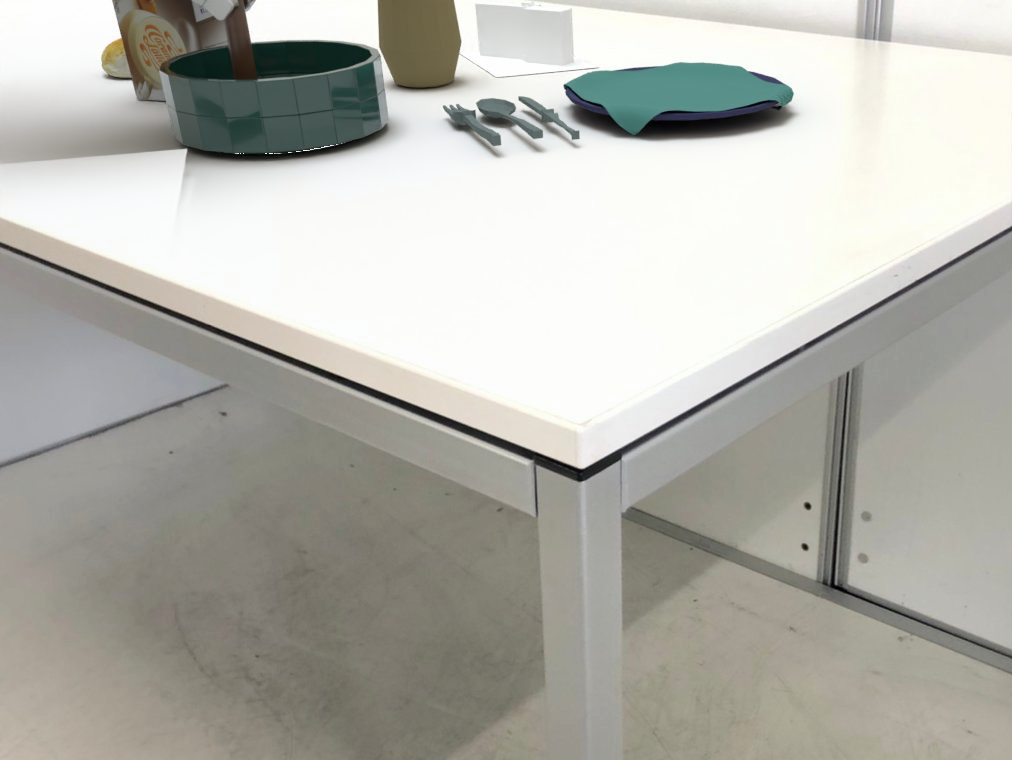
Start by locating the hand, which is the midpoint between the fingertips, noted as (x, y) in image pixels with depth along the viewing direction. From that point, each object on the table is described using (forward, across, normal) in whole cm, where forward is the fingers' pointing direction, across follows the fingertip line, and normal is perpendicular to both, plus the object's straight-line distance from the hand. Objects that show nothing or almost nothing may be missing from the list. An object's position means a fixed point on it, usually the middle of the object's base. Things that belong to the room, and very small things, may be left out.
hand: (240, 10), depth 89 cm
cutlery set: (+28, +10, -14) cm, 33 cm away
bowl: (+8, +1, +6) cm, 10 cm away
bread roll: (-10, +25, +24) cm, 36 cm away
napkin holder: (+18, +34, -4) cm, 38 cm away
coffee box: (-2, +14, +16) cm, 22 cm away
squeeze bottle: (+12, +22, +2) cm, 25 cm away
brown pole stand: (+6, 0, +7) cm, 9 cm away
